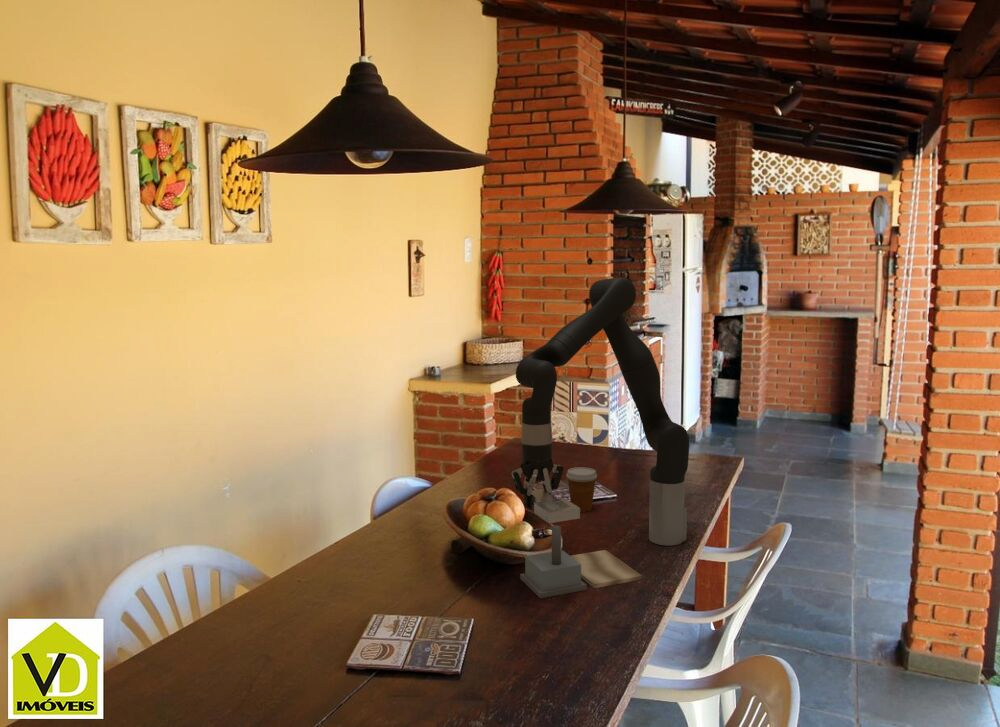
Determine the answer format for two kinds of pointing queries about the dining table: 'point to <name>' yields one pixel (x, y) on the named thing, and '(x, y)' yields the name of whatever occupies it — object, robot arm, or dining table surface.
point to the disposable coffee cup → (581, 487)
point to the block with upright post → (553, 571)
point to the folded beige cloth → (604, 569)
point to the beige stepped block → (553, 507)
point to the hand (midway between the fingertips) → (537, 507)
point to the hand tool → (459, 546)
